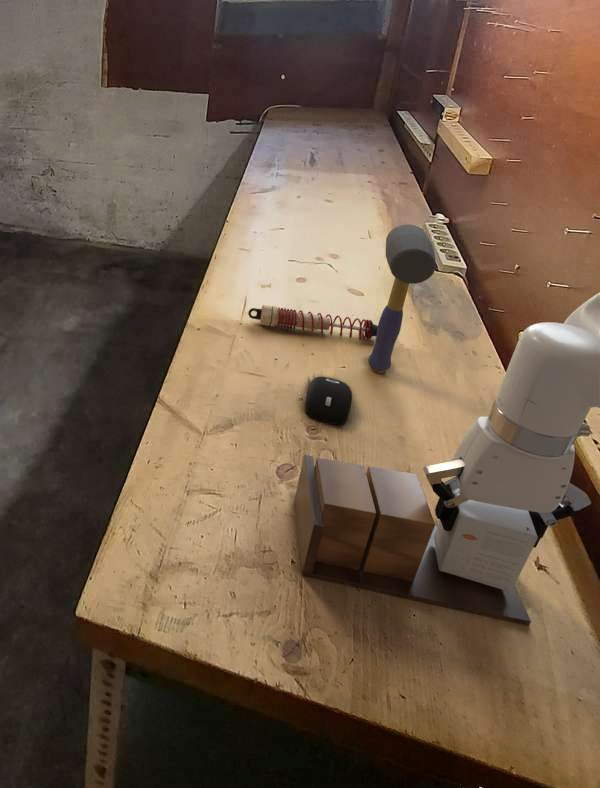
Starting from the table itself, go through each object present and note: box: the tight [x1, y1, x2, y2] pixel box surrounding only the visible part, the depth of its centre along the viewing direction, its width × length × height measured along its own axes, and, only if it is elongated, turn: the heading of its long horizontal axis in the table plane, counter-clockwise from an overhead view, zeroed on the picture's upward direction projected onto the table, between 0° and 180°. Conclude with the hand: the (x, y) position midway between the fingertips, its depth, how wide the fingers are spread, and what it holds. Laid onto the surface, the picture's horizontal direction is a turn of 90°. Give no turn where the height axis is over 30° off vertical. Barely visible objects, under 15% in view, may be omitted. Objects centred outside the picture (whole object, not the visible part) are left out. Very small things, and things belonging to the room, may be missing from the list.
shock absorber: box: [247, 304, 378, 341], centre depth 125 cm, size 5×5×30 cm
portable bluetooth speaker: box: [304, 376, 353, 426], centre depth 104 cm, size 8×12×4 cm, turn 150°
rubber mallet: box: [367, 224, 437, 374], centre depth 107 cm, size 12×8×30 cm, turn 156°
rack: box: [293, 454, 532, 626], centre depth 74 cm, size 26×12×12 cm, turn 74°
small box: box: [434, 488, 538, 592], centre depth 72 cm, size 8×6×10 cm
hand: (484, 529), depth 71 cm, fingers closed on small box, 8 cm apart
